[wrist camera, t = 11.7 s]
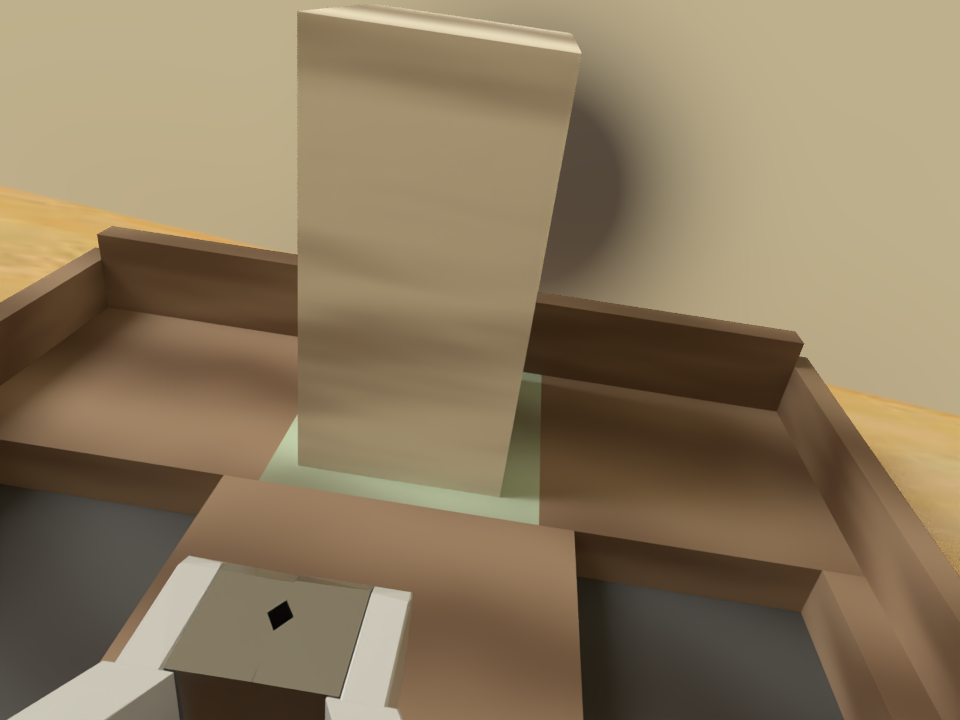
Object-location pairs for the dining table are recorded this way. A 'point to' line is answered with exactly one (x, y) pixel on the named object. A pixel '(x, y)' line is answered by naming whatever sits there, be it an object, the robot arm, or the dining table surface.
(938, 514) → the dining table surface
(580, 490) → the tray
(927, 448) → the dining table surface
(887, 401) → the dining table surface
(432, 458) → the birch block
